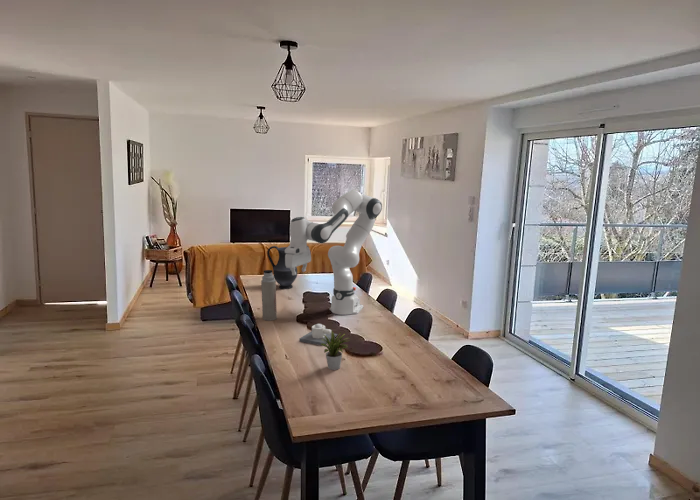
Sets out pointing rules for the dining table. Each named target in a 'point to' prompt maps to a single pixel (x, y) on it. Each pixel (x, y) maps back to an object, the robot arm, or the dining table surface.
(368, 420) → the dining table surface
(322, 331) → the collar
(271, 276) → the thermos bottle
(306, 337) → the duct plate
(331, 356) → the house plant
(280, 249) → the pitcher
